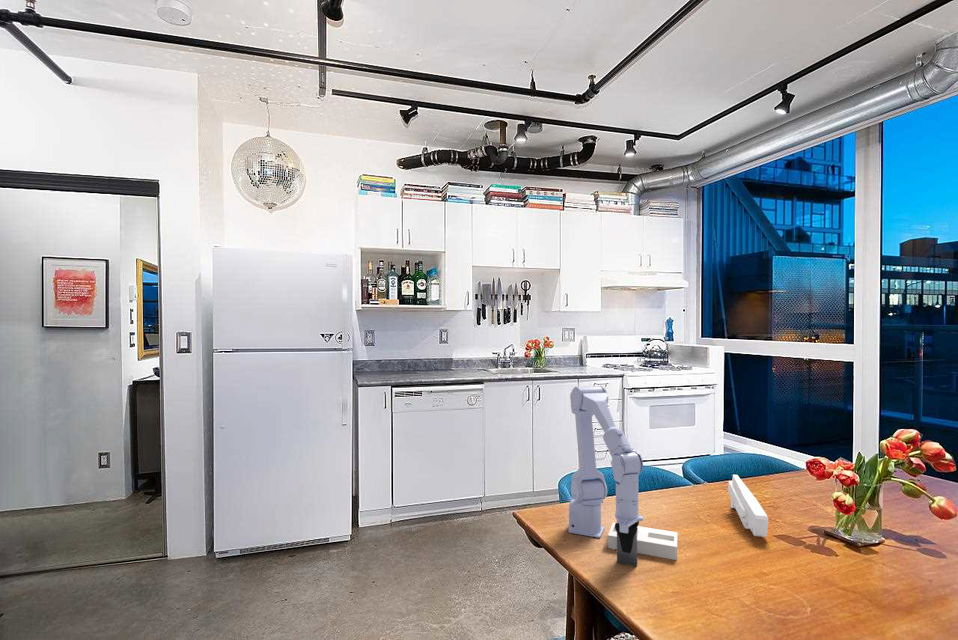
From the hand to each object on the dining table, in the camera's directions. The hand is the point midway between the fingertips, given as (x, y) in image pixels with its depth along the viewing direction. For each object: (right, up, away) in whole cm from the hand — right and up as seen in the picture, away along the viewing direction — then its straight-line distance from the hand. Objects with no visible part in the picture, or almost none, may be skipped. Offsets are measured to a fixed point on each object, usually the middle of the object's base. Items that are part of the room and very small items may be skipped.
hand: (627, 550), depth 127 cm
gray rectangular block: (0, -3, 0) cm, 3 cm away
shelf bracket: (+46, -4, +26) cm, 53 cm away
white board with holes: (+8, -4, +10) cm, 13 cm away
